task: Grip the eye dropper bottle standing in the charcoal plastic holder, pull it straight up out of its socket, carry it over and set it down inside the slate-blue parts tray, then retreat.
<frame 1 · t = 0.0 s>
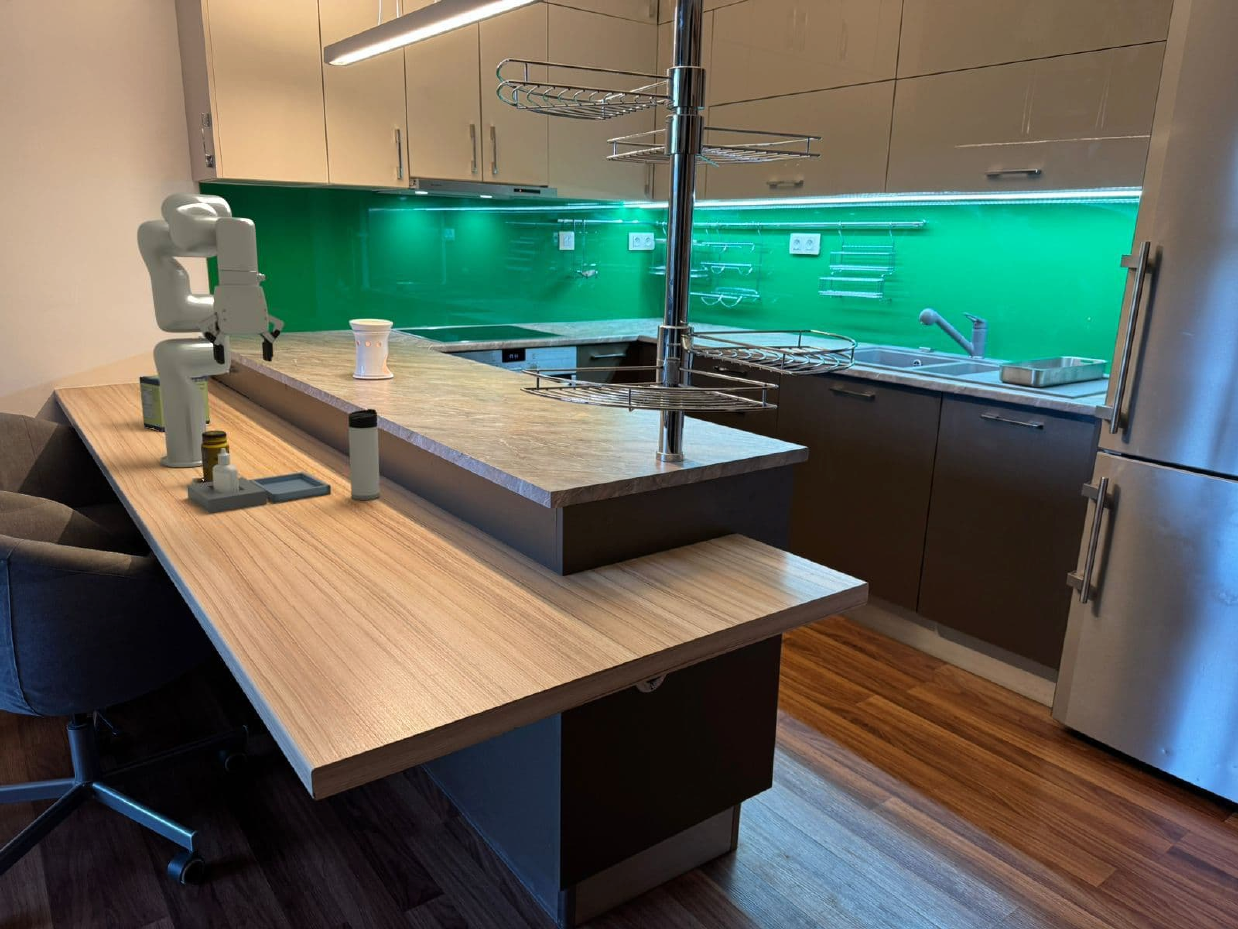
hand: (244, 362, 179), 31 cm above the table, tool pointing down, fingers open, 9 cm apart
parts tray: (289, 490, 197), on the table
protein box: (177, 426, 259), on the table
eye dropper bottle: (227, 501, 187), resting in bottle holder
condiment: (213, 482, 202), on the table
travel mug: (366, 497, 195), on the table
bottle holder: (227, 500, 187), on the table
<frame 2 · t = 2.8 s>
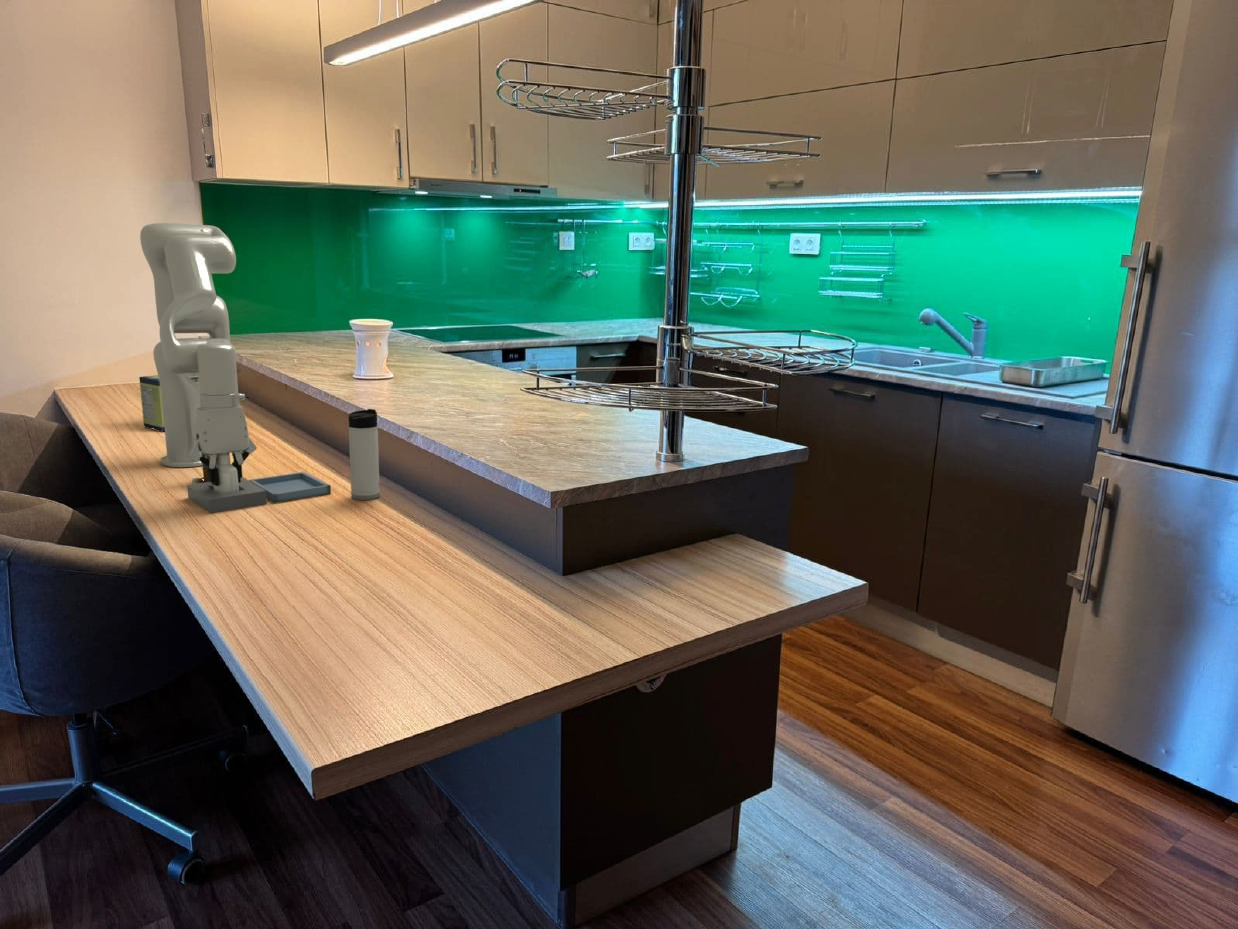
hand: (226, 482, 186), 4 cm above the table, tool pointing down, fingers closed on eye dropper bottle, 3 cm apart
eye dropper bottle: (227, 501, 187), resting in bottle holder, touching gripper
everything else where it was.
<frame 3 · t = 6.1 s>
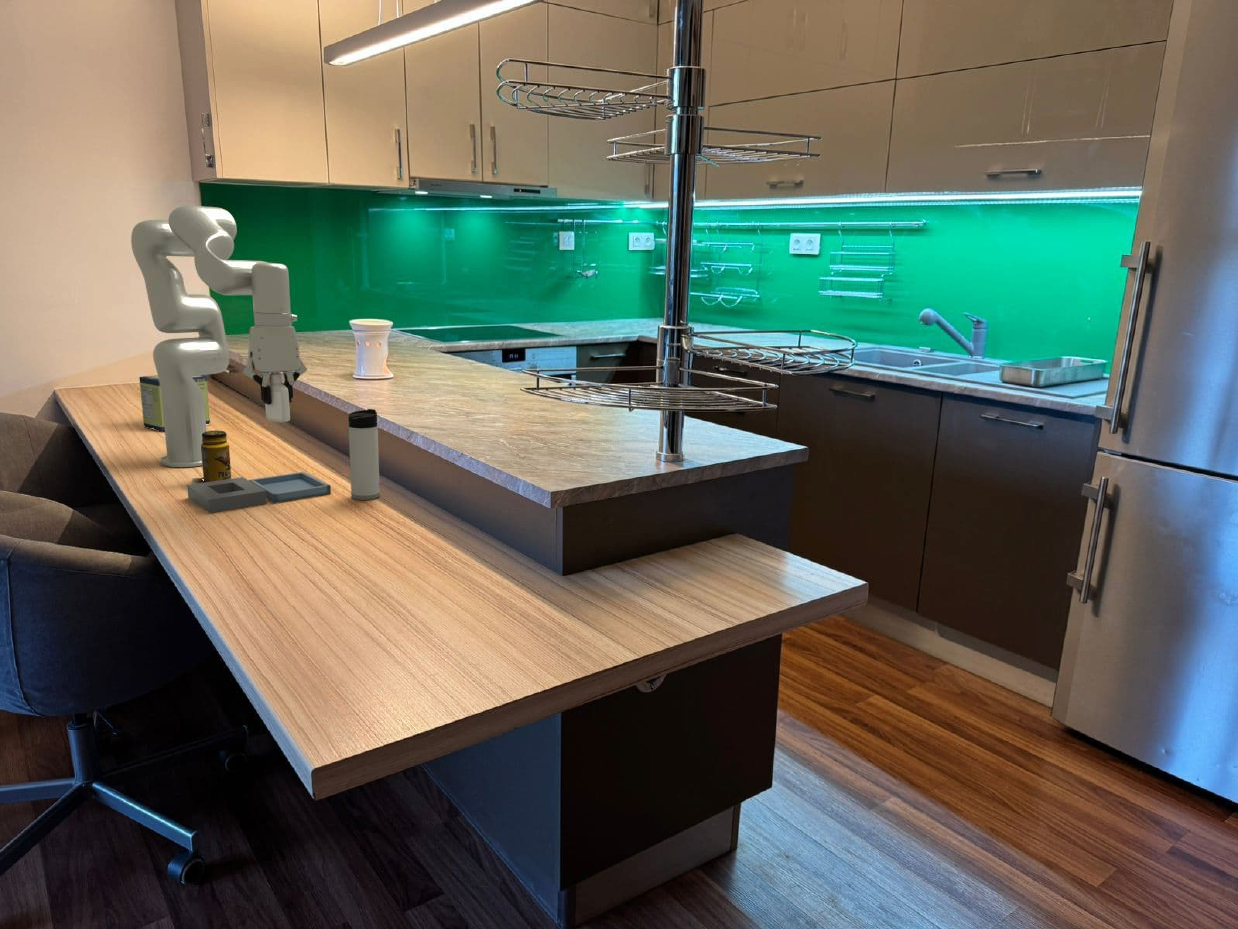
hand: (277, 401, 191), 21 cm above the table, tool pointing down, fingers closed on eye dropper bottle, 3 cm apart
eye dropper bottle: (278, 421, 192), point 17 cm above the table, touching gripper
everything else where it was.
when the fingers open (6 cm above the table, at t = 9.5 s): eye dropper bottle stays where it is, resting on parts tray.
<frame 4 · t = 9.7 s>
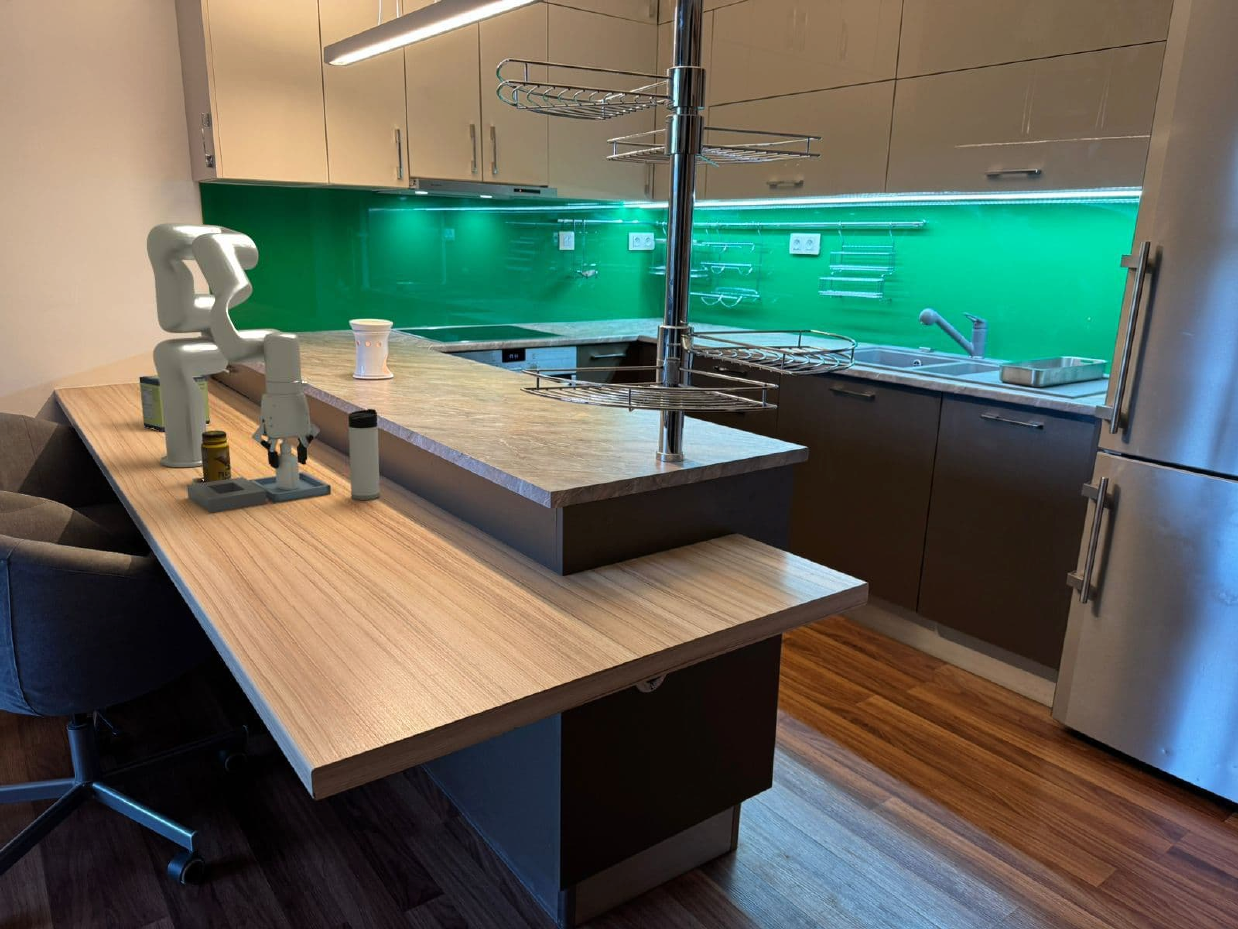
hand: (288, 464, 195), 6 cm above the table, tool pointing down, fingers open, 5 cm apart
eye dropper bottle: (288, 489, 197), resting on parts tray
everything else where it was.
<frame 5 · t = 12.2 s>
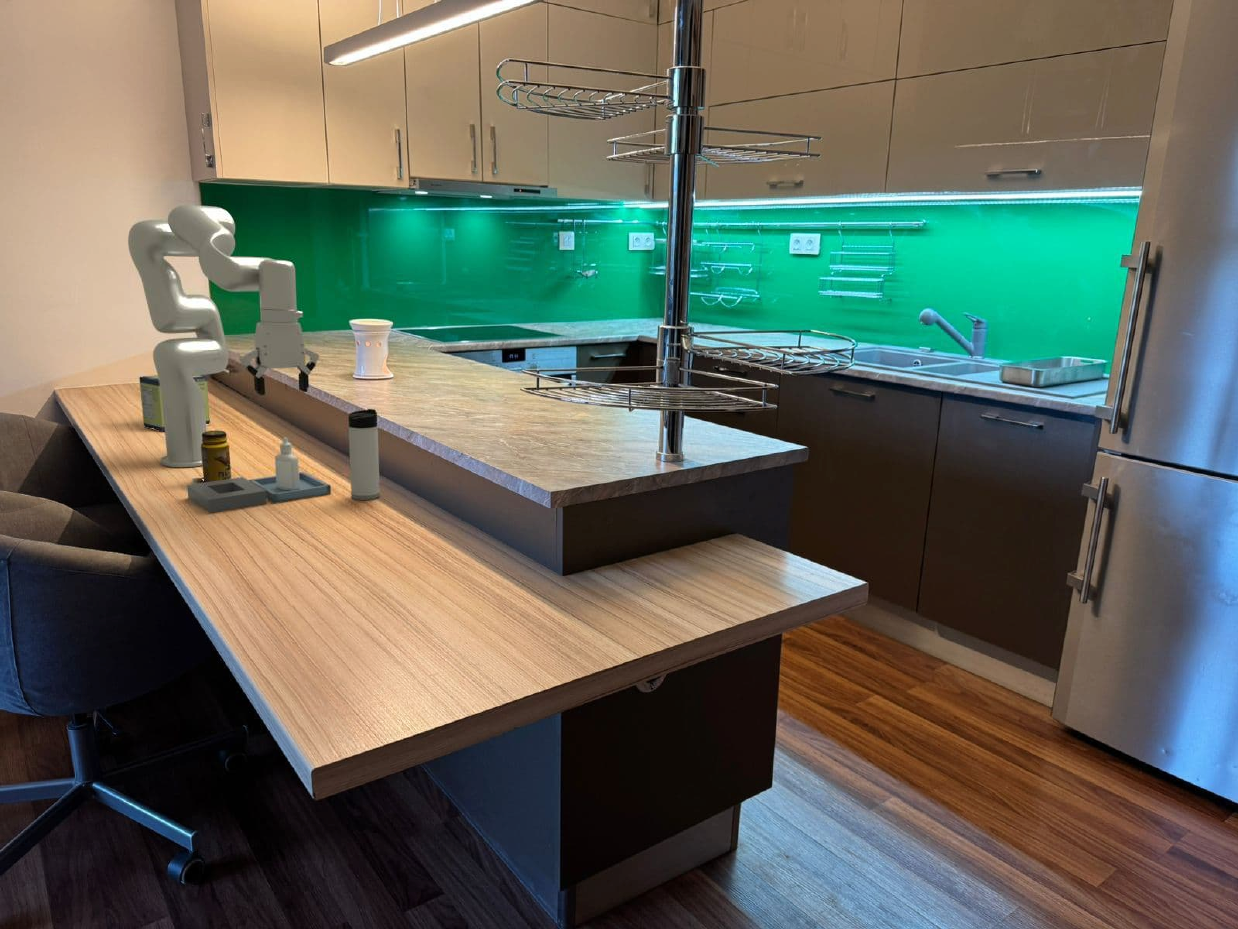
hand: (282, 392, 193), 23 cm above the table, tool pointing down, fingers open, 9 cm apart
nothing on the table moved.
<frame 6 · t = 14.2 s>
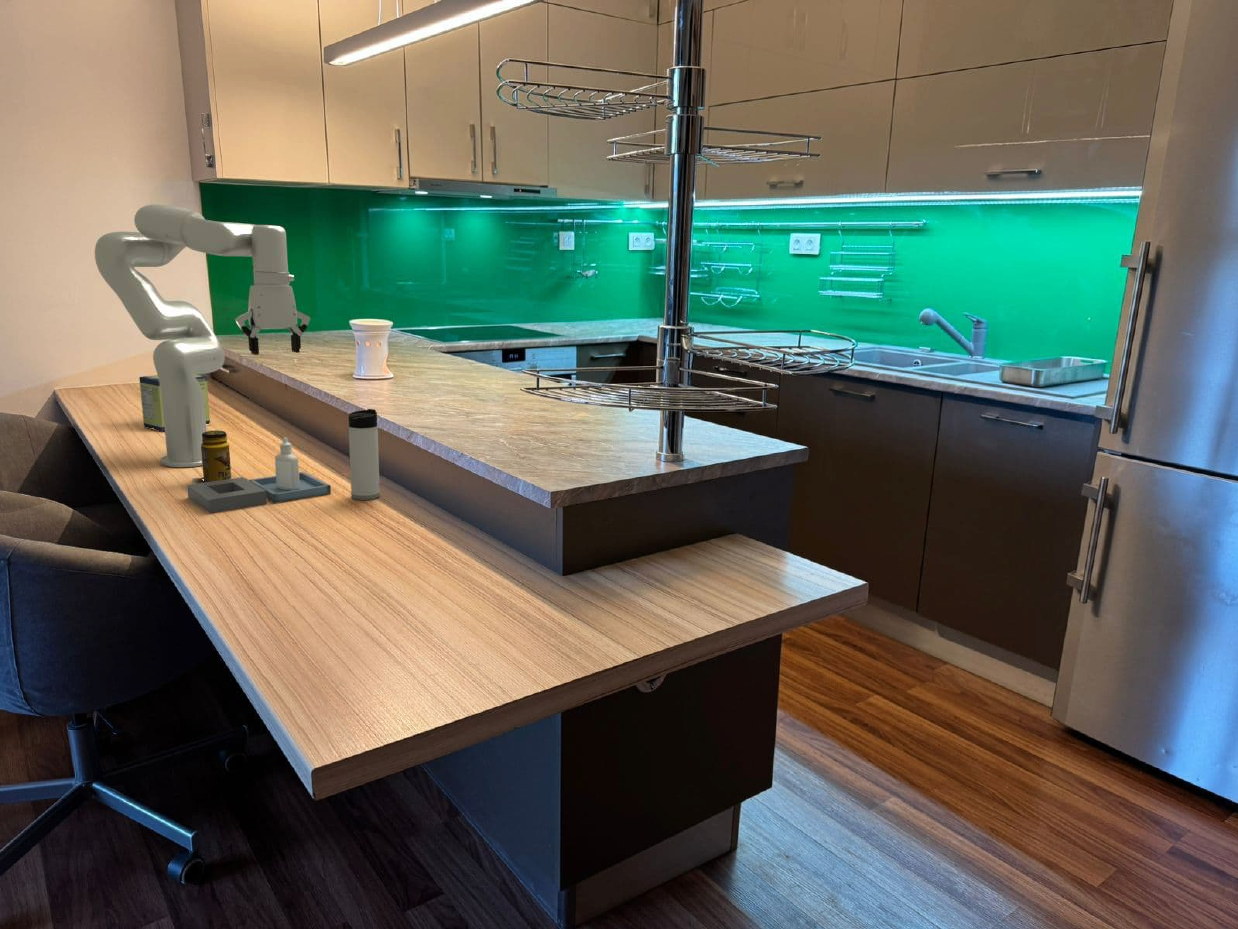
hand: (275, 353, 202), 30 cm above the table, tool pointing down, fingers open, 9 cm apart
nothing on the table moved.
at the end: eye dropper bottle inside the target area on the parts tray (0.4 cm from its centre), point 0.4 cm above the parts tray's base; the gripper is holding nothing; eye dropper bottle moved 13.8 cm from its start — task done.
